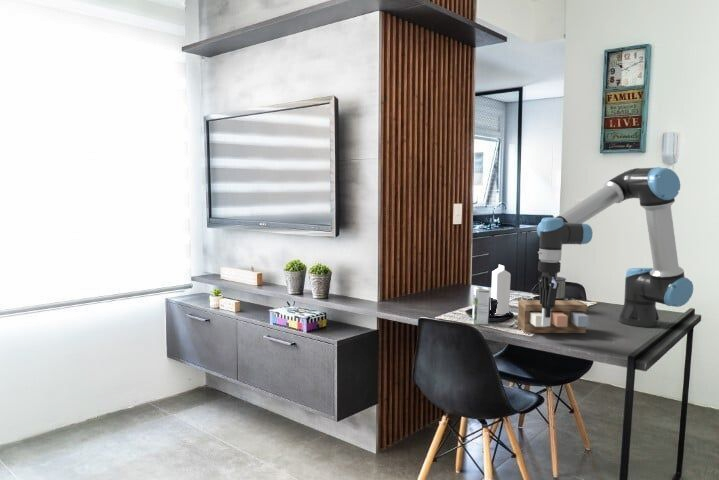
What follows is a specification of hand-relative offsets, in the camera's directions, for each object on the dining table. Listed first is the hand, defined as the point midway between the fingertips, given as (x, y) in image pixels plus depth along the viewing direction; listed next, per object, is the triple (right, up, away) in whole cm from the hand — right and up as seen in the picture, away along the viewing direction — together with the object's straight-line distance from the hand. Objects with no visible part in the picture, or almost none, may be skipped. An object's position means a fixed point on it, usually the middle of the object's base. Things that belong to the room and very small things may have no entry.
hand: (545, 325), depth 200 cm
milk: (-7, -2, +39) cm, 40 cm away
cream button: (0, -1, +10) cm, 10 cm away
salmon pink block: (+8, -1, +10) cm, 13 cm away
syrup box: (-18, -3, +26) cm, 32 cm away
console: (+7, -4, +16) cm, 18 cm away
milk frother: (+17, -1, +53) cm, 56 cm away
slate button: (+16, -1, +10) cm, 19 cm away
